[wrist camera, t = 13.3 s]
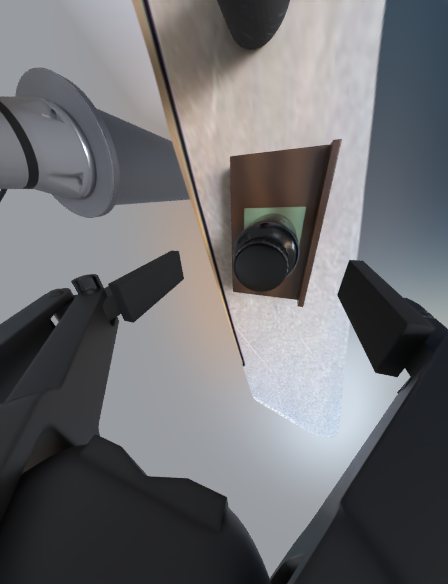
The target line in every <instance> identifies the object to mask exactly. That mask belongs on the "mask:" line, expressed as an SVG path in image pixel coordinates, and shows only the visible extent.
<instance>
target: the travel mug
mask: <svg viewBox="0 0 448 584" xmlns="http://www.w3.org/2000/svg"><path fill="white" fill-rule="evenodd" d="M217 1H218V4H219V6H220V9H221V11H222V13H223V16H224V18H225V21H226V23H227V25H228V28H229V30H230V32H231V34H232V36H233V38H234V40H235V41H236V42H237V43H238V44H239V45H240V46H242V47H243V48H246V49H256V48H259V47H261V46H263V45H264V44H265V43H267V42H268V41H269V40H270V39H271V38H272V36H273V35H274V34H275V33H276V31H277V30H278V28H279V26H280V25H281V23H282V21H283V18H284V16H285V14H286V11H287V8H288V5H289V2H290V0H217Z"/></svg>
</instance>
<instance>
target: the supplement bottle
mask: <svg viewBox="0 0 448 584" xmlns="http://www.w3.org/2000/svg"><path fill="white" fill-rule="evenodd" d="M233 257H234V265H233V266H234V272H235V276H236V277H237V280H239V282H240V283H241V284H242V285H243V286H244V287H246V288H247V289H250V290H251V291H256V292H267V291H271V290H273V289H275V288H277V286H279V285H280V284H281V283H282V282H283V281H284V279H285V278H287V277H288V276H289V275H290V274H291V273H292V271H293V270H294V269H295V267H296V265H297V262H298V258H299V245H298V239H297V234H296V230H295V227H294V225H293V223H292V222H291V221H290V220H289V219H288V218H287V217H285V216H283V215H281V214H276V213H270V214H266V215H263V216H261V217H259V218H258V219H256V220H255V221H254V222H253V223H252V224H250V225H249V226H248V227H247V228H246V229H245V230H244V231H243V232H242V233H241V234H240V235H239V237H238V238H237V240H236V243H235V246H234V251H233Z"/></svg>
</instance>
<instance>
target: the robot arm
mask: <svg viewBox="0 0 448 584" xmlns="http://www.w3.org/2000/svg"><path fill="white" fill-rule="evenodd" d="M96 181H97V171H96V164H95V159H94V155H93V152H92V149H91V147H90V144H89V142H88V140H87V138H86V136H85V134H84V132H83V130H82V129H81V127H80V126H79V124H78V123H77V121H76V120H75V119H74V118H73V116H72V115H71V114H70V113H69V112H68V111H67V110H65V109H64V108H63V107H62V106H60V105H58V104H56V103H54V102H51V101H49V100H46V99H43V98H38V97H0V189H1V191H0V202H1V200H2V198H3V196H4V195H5V193H6V191H7V189H36V190H40V191H44V192H47V193H50V194H54V195H58V196H61V197H65V198H69V199H85V198H88V197H89V196H91V194H92V193H93V192H94V189H95V186H96ZM183 279H184V277H183V272H182V266H181V261H180V255H179V251H170V252H168V253H167V254H165V255H162V256H160V257H159V258H157V259H155V260H153V261H151V262H149V263H147V264H146V265H143V266H141V267H140V268H138V269H136V270H134V271H132V272H130V273H128V274H126V275H124V276H123V277H121V278H119V279H117V280H115V281H113V282H111V283H109V284H108V285H109V286H108V287H106V288H103V285H102V283H101V281H100V279H99V277H98V275H96V274H90V275H84V276H81V277H78V278H76V279H74V280H72V281H71V282H72V284H73V285H74V287H75V289H76V291H77V292H78V295H73V294H72V292H71V290H70V289H68V288H62V289H55V290H52V291H50V292H49V293H47V294H45V295H43V296H42V297H40V298H39V299H37V300H36V301H35V302H33V303H31V304H30V305H29V306H27V307H25V308H24V309H22V310H21V311H20V312H18V313H17V314H15V315H14V316H12V317H10V318H9V319H8V320H6V321H5V322H3V323H2V324H0V584H448V329H447V328H446V327H445V326H444V325H442V324H441V323H440V322H439V321H438V320H437V319H435V318H434V317H433V316H432V315H431V314H430V313H427V311H426V310H425V309H424V308H423V307H421V306H420V305H419V304H417V303H415V302H414V301H412V300H409V299H408V298H402V296H401V295H399V294H398V293H397V292H396V291H395V290H394V289H393V288H392V287H391V286H390V285H389V284H387V283H386V282H385V281H384V280H383V279H382V278H381V277H380V276H379V275H378V274H377V273H375V272H374V271H373V270H372V269H371V268H370V267H369V266H368V265H367V264H366V263H365V262H364V261H356V260H349V263H348V266H347V269H346V271H345V274H344V277H343V280H342V283H341V286H340V289H339V292H338V297H339V299H340V301H341V303H342V306H343V308H344V310H345V312H346V314H347V316H348V318H349V320H350V322H351V324H352V326H353V328H354V330H355V332H356V334H357V336H358V338H359V340H360V342H361V344H362V346H363V348H364V350H365V352H366V355H367V357H368V359H369V361H370V363H371V364H372V367H373V369H374V371H375V372H376V373H379V374H384V375H389V376H394V377H398V376H399V374H400V373H401V372H402V371H403V369H404V368H405V369H406V370H407V372H408V373H409V375H410V376H411V377H410V378H409V380H408V381H407V382H406V383H405V384H404V385H403V387H402V388H401V389H400V390H399V391H398V392H397V393H398V395H397V396H396V398H395V399H394V401H393V402H392V404H391V405H390V407H389V408H388V410H387V411H386V413H385V414H384V415H383V417H382V418H381V420H380V421H379V423H378V424H377V426H376V427H375V429H374V430H373V432H372V433H371V435H370V436H369V438H368V439H367V440H366V442H365V443H364V445H363V446H362V448H361V449H360V451H359V452H358V453H357V455H356V456H355V458H354V459H353V461H352V462H351V464H350V465H349V467H348V468H347V470H346V471H345V473H344V474H343V476H342V477H341V478H340V480H339V481H338V483H337V484H336V486H335V487H334V489H333V490H332V492H331V493H330V495H329V496H328V498H327V499H326V500H325V502H324V503H323V505H322V506H321V508H320V509H319V511H318V512H317V514H316V515H315V516H314V518H313V519H312V521H311V522H310V524H309V525H308V526H307V528H306V529H305V530H304V531H303V533H302V534H301V535H300V536H299V538H298V539H297V541H296V542H295V543H294V544H293V546H292V547H291V549H290V550H289V551H288V553H287V555H286V556H285V557H284V559H283V560H282V562H281V563H280V564H279V566H278V568H277V569H276V570H275V572H274V573H273V575H272V576H271V578H270V579H269V576H268V573H267V571H266V568H265V565H264V563H263V561H262V558H261V556H260V554H259V552H258V550H257V548H256V546H255V544H254V542H253V540H252V538H251V536H250V535H249V533H248V531H247V530H246V528H245V527H244V525H243V524H242V523H241V521H240V520H239V519H238V517H237V516H236V515H235V514H234V513H233V512H232V511H231V510H230V509H229V508H228V502H227V497H225V496H223V495H221V494H219V493H217V492H215V491H213V490H211V489H209V488H207V487H205V486H202V485H200V484H198V483H196V482H194V481H192V480H190V479H188V478H169V477H150V476H147V475H146V474H145V473H144V471H143V470H142V469H141V468H140V467H139V466H138V465H137V464H136V462H135V461H134V460H133V459H132V458H131V457H130V456H129V455H128V453H127V452H126V451H125V450H124V449H123V448H122V447H121V446H119V445H117V444H115V443H113V442H111V441H108V440H106V439H104V438H102V437H100V434H99V429H98V426H99V419H100V414H101V409H102V404H103V399H104V394H105V389H106V384H107V379H108V374H109V369H110V364H111V359H112V353H113V349H114V344H115V339H116V334H117V329H118V323H119V320H118V317H117V316H118V315H120V314H122V316H123V319H124V320H125V321H129V322H135V321H136V320H137V319H138V318H139V317H141V316H142V315H143V314H144V313H145V312H146V311H147V310H149V309H150V308H151V307H152V306H153V305H154V304H156V303H157V302H158V301H159V300H160V299H161V298H162V297H164V296H165V295H166V294H167V293H168V292H169V291H170V290H172V289H173V288H174V287H175V286H176V285H177V284H179V283H180V281H182V280H183ZM53 315H54V316H55V317H56V319H57V320H58V322H59V323H58V324H57V326H55V325H54V323H53V322H52V321H51V317H52V316H53Z"/></svg>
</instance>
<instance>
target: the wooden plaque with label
mask: <svg viewBox="0 0 448 584" xmlns="http://www.w3.org/2000/svg"><path fill="white" fill-rule="evenodd" d="M341 142H342V139H338V140H333V141H332V142H331V144H330V145H323V146H314V147H306V148H298V149H289V150H281V151H272V152H264V153H256V154H247V155H239V156H231V157H230V169H231V221H232V273H233V292H239V293H247V294H255V295H263V296H271V297H279V298H287V299H295V300H297V303H298V306H300V307H303V305H304V301H305V297H306V292H307V288H308V284H309V279H310V275H311V271H312V266H313V262H314V258H315V254H316V249H317V245H318V241H319V236H320V232H321V228H322V223H323V219H324V215H325V211H326V206H327V202H328V198H329V193H330V189H331V185H332V181H333V176H334V172H335V168H336V163H337V159H338V155H339V150H340V146H341ZM270 213H276V214H281V215H283V216H285V217H287V218H288V219H289V220H290V221H291V222H292V223H293V225H294V227H295V230H296V234H297V239H298V245H299V258H298V262H297V265H296V267H295V269H294V270H293V271H292V273H291V274H290V275H289V276H288V277H287V278H285V279H284V281H283V282H282V283H281V284H280V285H279V286H277V288H275V289H273V290H271V291H267V292H256V291H251V290H250V289H247V288H246V287H244V286H243V285H242V284H241V283H240V282H239V280H237V277H236V276H235V272H234V266H233V265H234V257H233V251H234V246H235V243H236V240H237V238H238V237H239V235H240V234H241V233H242V232H243V231H244V230H245V229H246V228H247V227H248V226H249V225H250V224H252V223H253V222H254V221H255V220H256V219H258V218H259V217H261V216H263V215H266V214H270Z"/></svg>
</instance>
